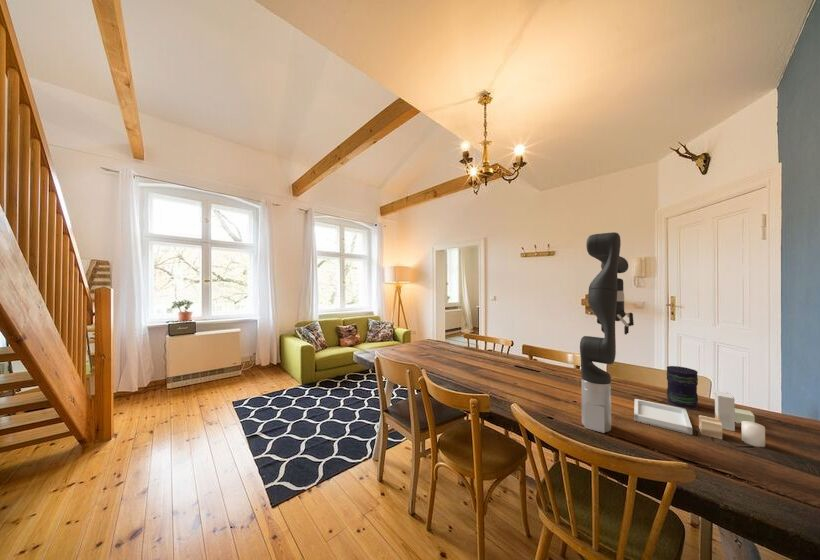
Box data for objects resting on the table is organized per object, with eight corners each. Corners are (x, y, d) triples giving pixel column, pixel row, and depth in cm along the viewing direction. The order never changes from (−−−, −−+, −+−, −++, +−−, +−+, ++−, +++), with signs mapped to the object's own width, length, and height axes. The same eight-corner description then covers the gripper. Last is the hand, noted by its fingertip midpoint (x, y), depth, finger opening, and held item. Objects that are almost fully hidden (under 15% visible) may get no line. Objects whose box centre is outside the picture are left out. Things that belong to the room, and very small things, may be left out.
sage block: (754, 426, 104) (754, 416, 104) (734, 422, 107) (734, 412, 107) (750, 421, 108) (750, 410, 108) (730, 417, 111) (730, 407, 111)
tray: (692, 435, 99) (692, 427, 99) (634, 420, 109) (634, 414, 109) (685, 415, 113) (685, 408, 113) (634, 404, 123) (634, 398, 123)
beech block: (722, 439, 96) (722, 425, 96) (701, 434, 99) (701, 420, 99) (719, 433, 100) (719, 419, 100) (699, 428, 103) (698, 415, 103)
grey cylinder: (767, 449, 90) (767, 430, 90) (743, 443, 94) (743, 425, 94) (762, 441, 94) (762, 424, 94) (739, 436, 98) (739, 419, 97)
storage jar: (695, 411, 116) (695, 375, 116) (663, 402, 124) (663, 368, 124) (700, 404, 122) (700, 370, 122) (669, 397, 130) (669, 364, 130)
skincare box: (714, 421, 108) (714, 390, 108) (731, 424, 105) (731, 392, 105) (717, 428, 103) (717, 395, 103) (735, 431, 100) (735, 398, 100)
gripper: (597, 300, 137) (597, 333, 137) (634, 301, 130) (634, 336, 130) (596, 299, 143) (596, 330, 143) (631, 299, 136) (631, 333, 136)
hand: (614, 333), depth 137 cm, fingers open, 8 cm apart
